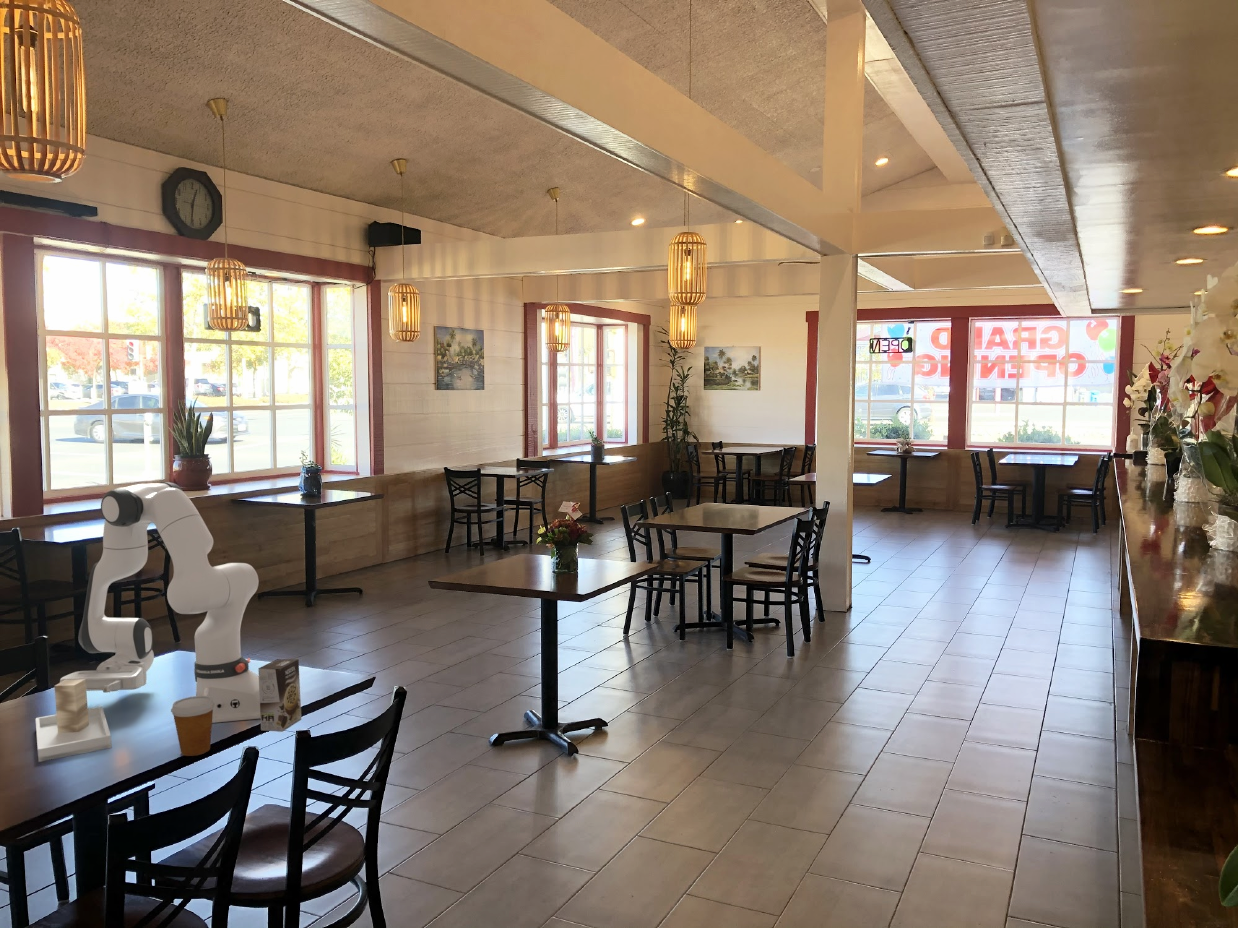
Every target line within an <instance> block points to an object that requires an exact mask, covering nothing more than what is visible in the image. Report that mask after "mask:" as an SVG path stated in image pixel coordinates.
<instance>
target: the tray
mask: <svg viewBox="0 0 1238 928" xmlns="http://www.w3.org/2000/svg"><path fill="white" fill-rule="evenodd" d="M88 720H89V725H88V726H87V727H85V728H84V729H82V730H80V731H79V732H65V733H58V728H57V714H56V713H55V714H52V715H51V714H50V715H45V716H39V717H36V718H35V728H36V743H37V744H36V745H37V746H36V747H37V756H38V762H39V763H41V762H46V761H51V759H52V760H57V759H60V758H66V757H73V756H75V755H80V754H86V753H91V752H96V751H102V750H106V749H110V748H112V738H111V732H110V728H109V725H108V721H107V719H106V715H105V711H104V708H103V706H96V707H91V708H88Z"/></svg>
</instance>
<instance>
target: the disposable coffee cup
mask: <svg viewBox="0 0 1238 928" xmlns="http://www.w3.org/2000/svg"><path fill="white" fill-rule="evenodd" d="M214 706H215V703H214V702H213V699H212V698H211V697H208V696H196V695H195V696H190V697H184V698H180V699H179V700H176V701H174V702H173V703H172V707H171V709H170V712H171V714H172V715H173V718H174V719H173V720H174V724H175V725H174V726H175V728H176V734H177V740H178V743H179V744H178V745H179V749H180V754H181V755H182V756H185V757H190V756H191V757H194V756H199V755H203V754H205V753H207V752H209V751H210V750H211V743H212V742H211V740H212V730H213V729H212V728H213V727H212V726H213V723H212V715H213V708H214Z"/></svg>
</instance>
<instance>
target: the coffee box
mask: <svg viewBox="0 0 1238 928" xmlns="http://www.w3.org/2000/svg"><path fill="white" fill-rule="evenodd" d="M299 663H300V662H299V659H296V658H277V659H275V660H272V661H271V662H268V663H266V664H264V665H262V666H261V667H258V669H257V671H258V676H259V694H260V716H261V718H260V730H261V731H266V732H278V733H283V732H285V731H286V730H287V729H289V728H291V727H292V726H294V725H295V724H297V723H299V722H300V721H302V705H301V702H302V701H301V686H300V685H301V683H300V664H299Z"/></svg>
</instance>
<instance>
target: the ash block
mask: <svg viewBox="0 0 1238 928" xmlns="http://www.w3.org/2000/svg"><path fill="white" fill-rule="evenodd" d="M54 696H55V697H54V698H55V712H56V713H55V715H56V714H57V728H58V733H65V732H79V731H80V730H82V729H84V728H85V727H87V726H88V725H89V720H88V709H89V707H88V695H87V691H86V679H70V680H64V681H62V682H61V683H60V682H59V683H57V684H55V685H54Z"/></svg>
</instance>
